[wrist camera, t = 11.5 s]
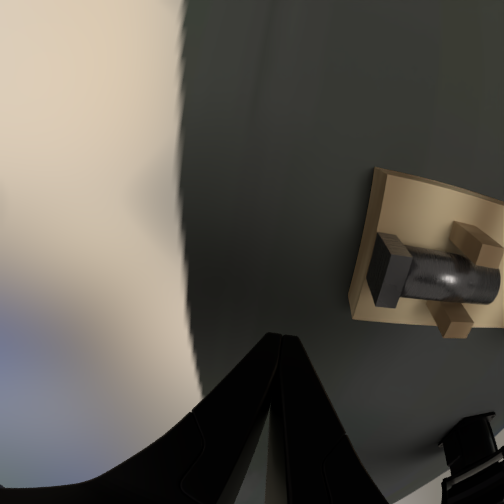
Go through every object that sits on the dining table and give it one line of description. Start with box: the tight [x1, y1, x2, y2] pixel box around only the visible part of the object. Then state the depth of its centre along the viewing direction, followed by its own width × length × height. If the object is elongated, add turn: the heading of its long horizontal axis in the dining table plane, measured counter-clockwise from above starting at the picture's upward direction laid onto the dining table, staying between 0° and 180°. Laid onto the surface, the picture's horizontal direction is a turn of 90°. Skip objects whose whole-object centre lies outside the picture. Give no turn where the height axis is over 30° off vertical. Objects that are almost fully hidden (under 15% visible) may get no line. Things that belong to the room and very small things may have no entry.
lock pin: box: [366, 232, 501, 309], centre depth 11 cm, size 7×2×2 cm, turn 86°
